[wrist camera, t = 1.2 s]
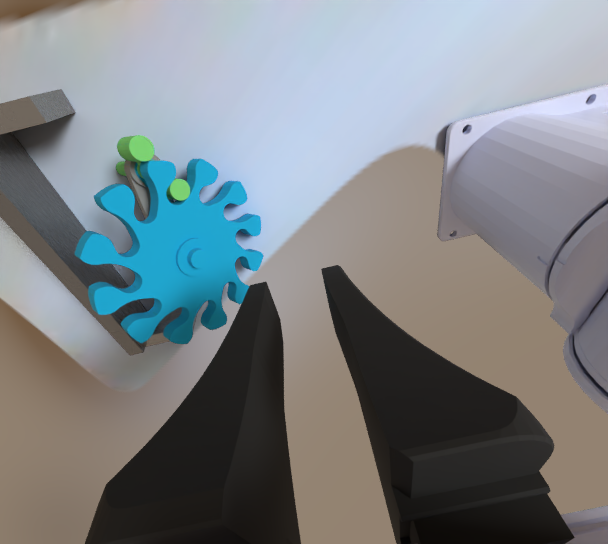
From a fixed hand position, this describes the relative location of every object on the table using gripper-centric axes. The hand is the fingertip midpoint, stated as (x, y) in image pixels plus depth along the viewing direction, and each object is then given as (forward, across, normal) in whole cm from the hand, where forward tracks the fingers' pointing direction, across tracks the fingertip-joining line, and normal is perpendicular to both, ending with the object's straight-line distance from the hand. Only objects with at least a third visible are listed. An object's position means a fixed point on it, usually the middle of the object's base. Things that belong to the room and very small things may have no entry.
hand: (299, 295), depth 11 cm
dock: (+9, +11, 0) cm, 14 cm away
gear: (+10, +6, 0) cm, 11 cm away
